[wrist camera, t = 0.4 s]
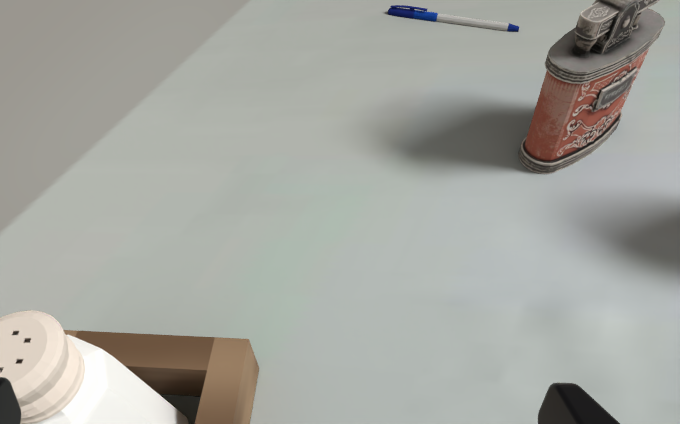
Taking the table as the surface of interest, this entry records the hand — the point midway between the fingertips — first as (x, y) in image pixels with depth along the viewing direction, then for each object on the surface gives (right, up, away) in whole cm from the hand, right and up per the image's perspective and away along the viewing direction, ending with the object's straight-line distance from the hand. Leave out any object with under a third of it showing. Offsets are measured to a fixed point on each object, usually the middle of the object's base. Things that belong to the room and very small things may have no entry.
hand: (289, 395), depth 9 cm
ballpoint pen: (+10, +18, +36) cm, 41 cm away
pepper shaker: (-8, -8, +15) cm, 18 cm away
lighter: (+15, +8, +26) cm, 31 cm away
